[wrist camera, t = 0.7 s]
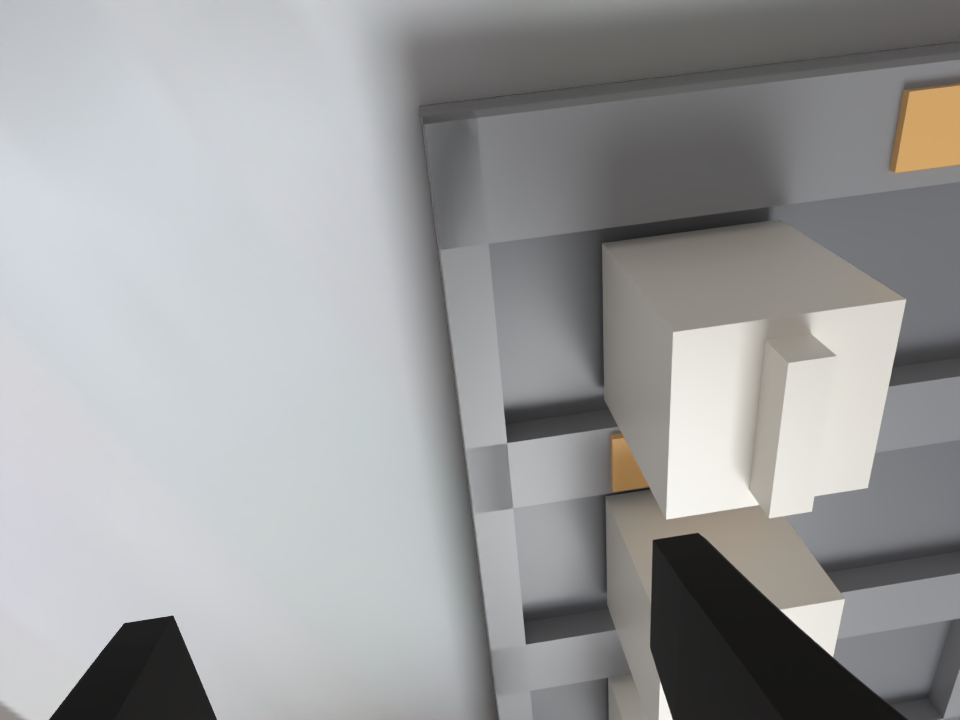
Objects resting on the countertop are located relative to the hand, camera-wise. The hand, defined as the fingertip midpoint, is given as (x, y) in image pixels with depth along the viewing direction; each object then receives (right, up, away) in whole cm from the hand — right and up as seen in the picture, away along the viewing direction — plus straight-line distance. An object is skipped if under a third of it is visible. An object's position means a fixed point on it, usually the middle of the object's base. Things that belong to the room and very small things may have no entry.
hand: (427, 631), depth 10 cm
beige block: (+6, -1, +11) cm, 12 cm away
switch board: (+8, 0, +12) cm, 15 cm away
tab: (+5, +5, +7) cm, 10 cm away
